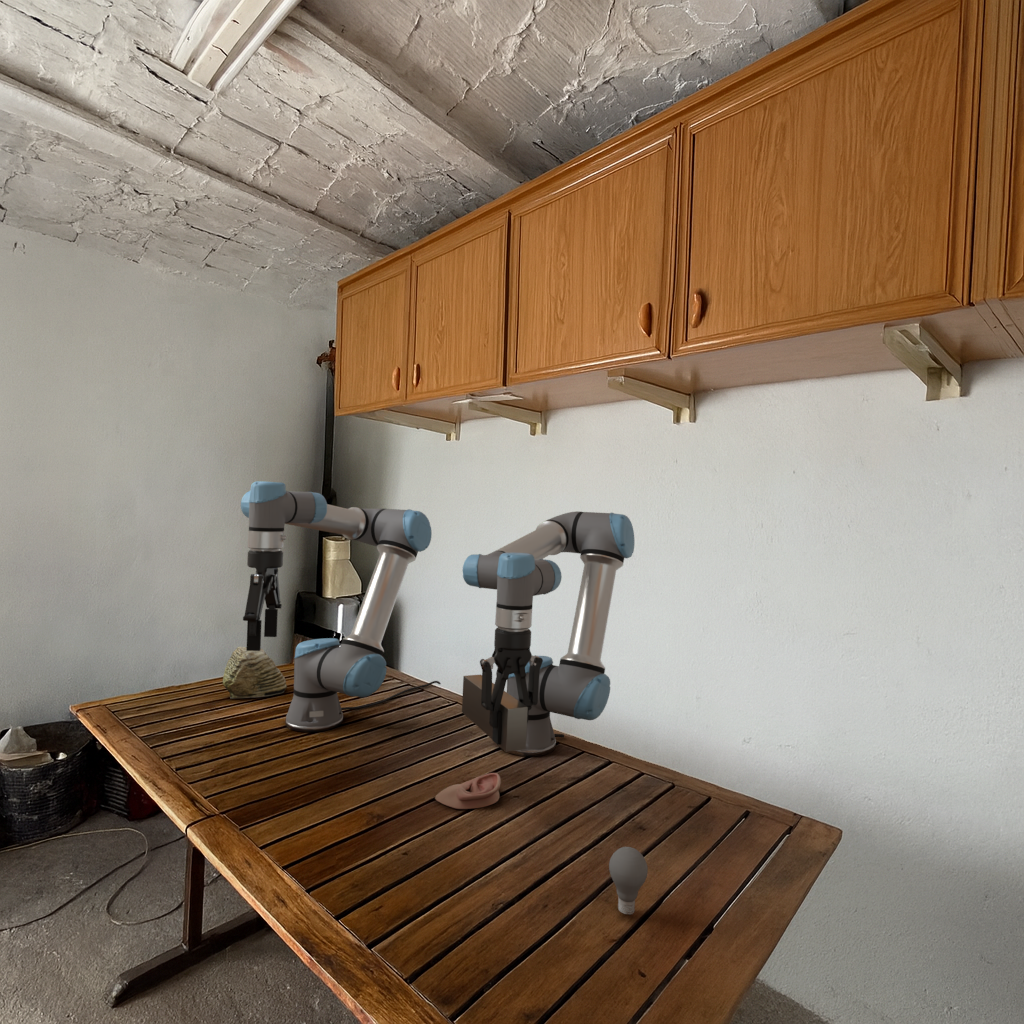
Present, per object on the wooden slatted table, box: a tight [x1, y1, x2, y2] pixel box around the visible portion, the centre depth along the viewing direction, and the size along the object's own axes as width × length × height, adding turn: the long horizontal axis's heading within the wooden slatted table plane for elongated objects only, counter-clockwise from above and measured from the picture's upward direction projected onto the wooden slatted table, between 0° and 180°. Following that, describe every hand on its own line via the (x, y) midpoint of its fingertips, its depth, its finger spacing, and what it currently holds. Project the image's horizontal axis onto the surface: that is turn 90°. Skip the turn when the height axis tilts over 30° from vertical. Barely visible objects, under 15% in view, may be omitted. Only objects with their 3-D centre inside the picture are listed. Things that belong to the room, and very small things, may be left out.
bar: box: [461, 674, 528, 753], centre depth 138 cm, size 25×4×9 cm, turn 25°
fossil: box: [222, 646, 288, 699], centre depth 198 cm, size 9×18×15 cm, turn 132°
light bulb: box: [608, 846, 649, 915], centre depth 100 cm, size 6×6×10 cm
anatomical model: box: [434, 772, 502, 810], centre depth 136 cm, size 13×4×12 cm
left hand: (262, 643), depth 143 cm, fingers open, 13 cm apart
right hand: (507, 740), depth 131 cm, fingers closed on bar, 4 cm apart
